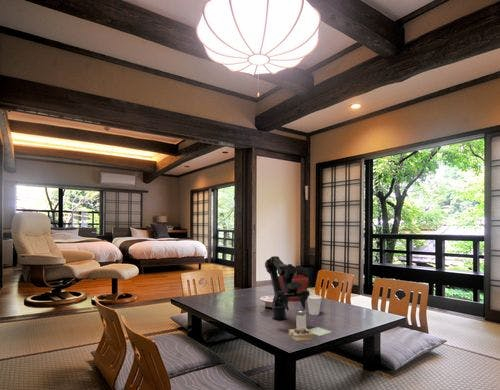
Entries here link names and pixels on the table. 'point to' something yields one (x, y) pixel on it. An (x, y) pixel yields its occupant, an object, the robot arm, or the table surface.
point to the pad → (319, 331)
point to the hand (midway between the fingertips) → (296, 309)
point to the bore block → (301, 335)
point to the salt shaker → (300, 321)
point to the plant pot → (304, 287)
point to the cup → (314, 304)
